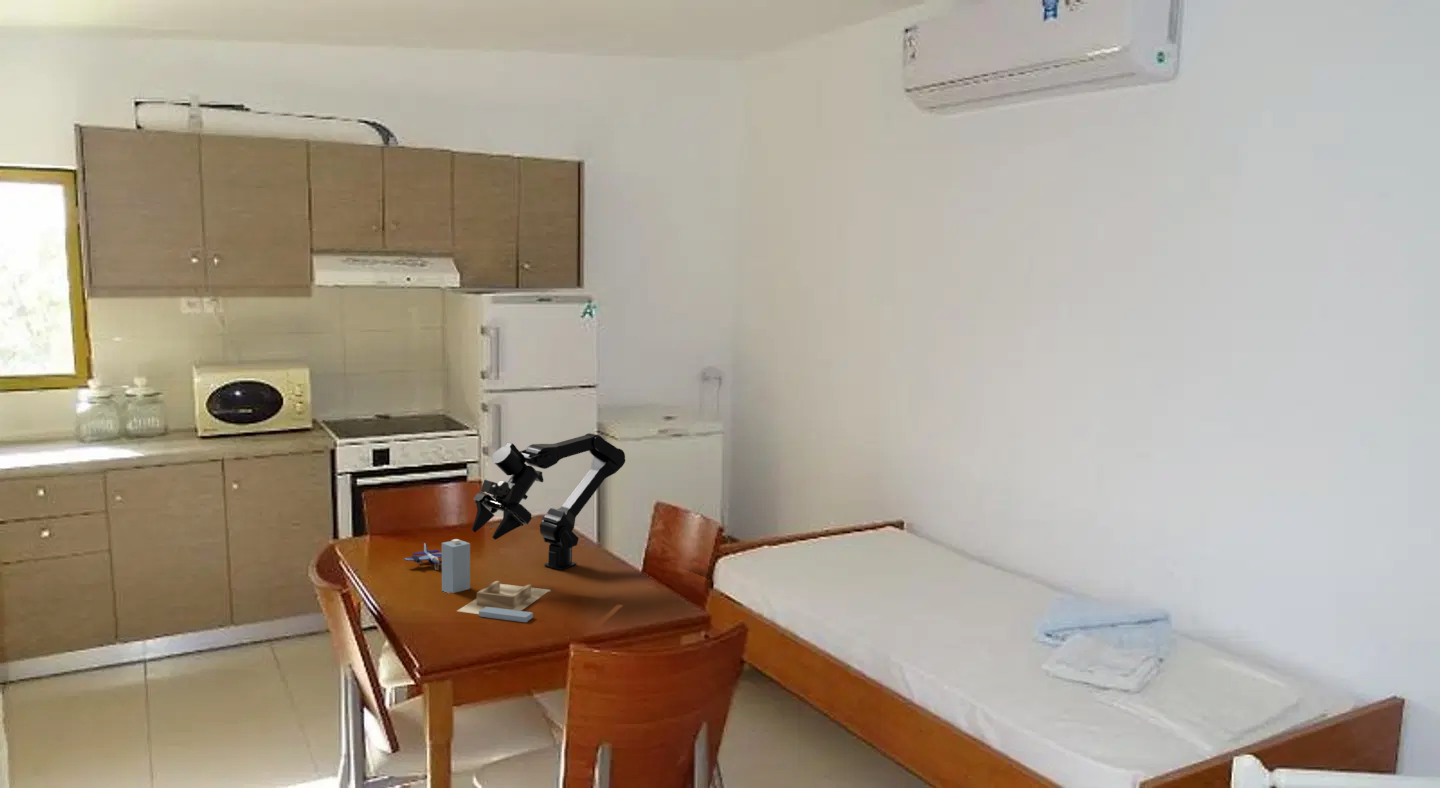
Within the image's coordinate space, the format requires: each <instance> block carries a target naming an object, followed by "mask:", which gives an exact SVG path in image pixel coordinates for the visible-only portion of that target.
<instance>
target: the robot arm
mask: <svg viewBox="0 0 1440 788" xmlns="http://www.w3.org/2000/svg"><path fill="white" fill-rule="evenodd" d="M585 452H589V453H590V454H591V455H592V456H593V457H592V459H591V466H590V467H591V468H590V469H589V470H588V472H587V473H586V474H585V475H584V477H583V478H582V479H581V480H580V482H579V484H578V485H577V486H576V487H575V489H574V490H573V491H572V492H571V493H570V495H569V496H568V498H567V499H566V500H565V501H564V503H563V504H562V505H561V506H560V507H558V508H557V509H556V508H554V507H550V508H549V509H548V510H547V512H546V514H545V515H544V516H543V517H541V520H542V521H540V524H539V532H540V534H541V536H542V537H543V541H544V542H545V543H548V544H549V545H548V553H547V554H548V558H547V559H548V561H547V563H545V564H544V567H547V568H551V569H554V570H555V569H556V570H561V571H562V570H563V571H564V570H566V569H569V568H571V567H574V566H576V565H577V562H575V561H573V547H577V545H578V542H579V539H580V538H579V537H578V536H577V535H576V534H575V533H574V532H573V531H574V529H575V526H576V525H575V523H576V519H577V516H578V515H579V513H580V512H581V511H582V510H583V508H584V507H585V506H586V504H588V502H589V500H590V499H591V498H592V496H594V494H595V493H596V492H597V490H598V489H599V488H600V486H601V485H602V483H603V482H604V481H605V480H606V479H607V478H608V477H611V476H613V475H614V474H616V473H617V472H618V471H619V470H620V469H621V468H622V467H623V466H624V465H625V463H626V454H625V452H624V450H623V449H622V448H618V447H617V446H615V445H613V444H612V443H610V442H608V440H607V441H606V439H605V438H603V437H602V436H601V435H599V434H595V433H591V432H589V433H586V434H583V435H581V436H577V437H573V438H570V439H565V440H563V441H558V442H556V443H533V444H530V445H528V446H527V447H526V448H525V449H524V450H519V448H517V446H516V445H515V444H514V443H512V442H507V443H506V445H504V446H502V447H499V448H498V449H497V450H495V451H494V453H493V454H492V456H491V457H492V458H491V461H492V462H493V463H494V465H496V466H497V468H499V469H500V471H502V472H503V473H504V474H505V475H506V476H508V477H509V476H510V478H508V481H506V480H505V481H503V480H500V481H498V482H494V481H492V480H487V479H484V480H483V482H482V485H481V488H480V491H479V492H477V493H476V494H475V495H474V497H473V501H474V504H475V506H476V510H477V511H476V515H475V518H474V521H473V525H472V528H471V531H472V532H473V533H477V532H478V531H479V530H480V529H481V528H482V527H483V526H485V525H486V524H487V523H488V522H489V521H490V520H491V519H492V518H494V517H495V514H496V513H497V512H498V511H501V512H503V514H502V515H503V516H502V517H503V518H502V520H501V521H500V523H499V524H498V526H497V528H496V529H495V531H494V533H493V534H492V539H493V540H496V541H497V540H498V539H499V538H501V537H503V536H505V535H507V534H508V533H509V532H511V531H514V530H515V529H517V528H520V527H523V526H525V525H529V523H530V522H531V521H532V513H531V512H530V511H529V509H527V508H526V507H525V506H523V504H521V501H522V500H527V499H528V497H529V496H528V495H527V493H528V491H529V490H530V489H531V487H532V486H533V484H534V483H535V482H539V483H543V482H544V476H543V471H541V470H536V468H540V469H542V470H546V469H549V468H551V467H553V466H555V465H556V464H558V463H559V461H561V460H562V459H565V458H569V457H571V456H575V455H576V456H577V455H579V454H582V453H585ZM534 467H535V468H534Z"/></svg>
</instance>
